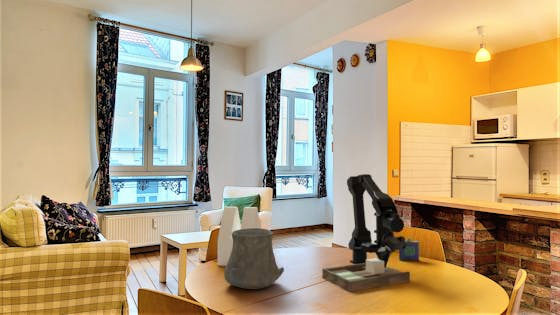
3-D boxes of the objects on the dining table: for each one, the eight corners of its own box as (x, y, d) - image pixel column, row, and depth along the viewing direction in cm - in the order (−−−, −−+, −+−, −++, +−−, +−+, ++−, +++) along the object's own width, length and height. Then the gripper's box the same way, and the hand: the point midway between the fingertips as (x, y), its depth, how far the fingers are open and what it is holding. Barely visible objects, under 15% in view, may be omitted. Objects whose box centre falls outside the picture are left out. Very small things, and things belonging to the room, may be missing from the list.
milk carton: (231, 255, 182) (231, 204, 182) (261, 256, 179) (261, 205, 180) (217, 265, 163) (217, 209, 164) (251, 267, 160) (251, 209, 161)
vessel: (277, 298, 122) (277, 238, 123) (214, 293, 127) (215, 235, 127) (289, 278, 144) (289, 227, 144) (235, 275, 148) (235, 225, 149)
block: (365, 270, 146) (365, 259, 146) (375, 269, 148) (375, 258, 148) (374, 274, 141) (374, 262, 142) (384, 272, 144) (384, 261, 144)
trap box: (322, 277, 145) (322, 268, 145) (378, 269, 157) (378, 261, 157) (349, 291, 129) (349, 281, 129) (409, 281, 141) (409, 272, 141)
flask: (418, 259, 173) (418, 237, 174) (420, 261, 170) (420, 238, 171) (398, 259, 174) (398, 236, 174) (400, 261, 171) (399, 238, 171)
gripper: (378, 233, 136) (379, 276, 135) (416, 229, 144) (416, 269, 143) (359, 228, 146) (360, 268, 145) (395, 225, 154) (396, 263, 153)
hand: (384, 267), depth 147 cm, fingers closed
